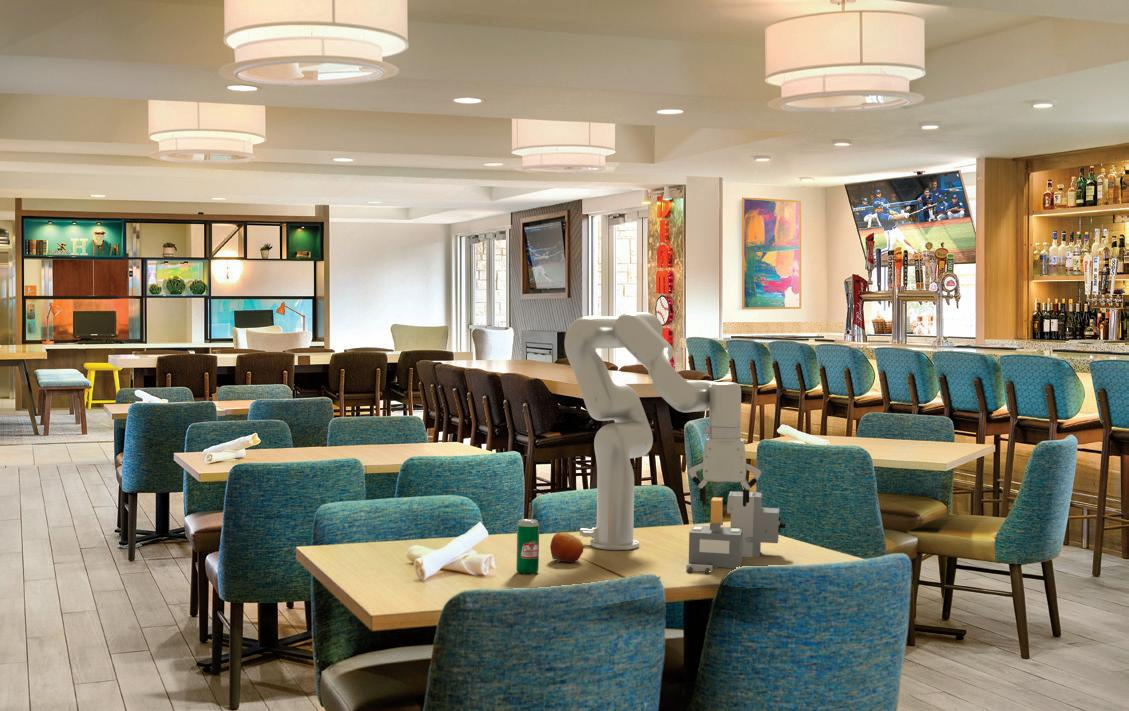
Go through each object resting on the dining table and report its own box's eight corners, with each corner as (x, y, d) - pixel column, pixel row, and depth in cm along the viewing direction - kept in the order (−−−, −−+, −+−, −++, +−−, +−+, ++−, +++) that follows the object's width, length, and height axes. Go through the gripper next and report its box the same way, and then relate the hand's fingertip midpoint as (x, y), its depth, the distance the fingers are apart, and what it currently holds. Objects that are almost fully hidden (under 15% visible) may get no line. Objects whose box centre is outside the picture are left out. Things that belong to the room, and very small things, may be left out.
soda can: (521, 575, 265) (521, 522, 264) (513, 571, 269) (513, 519, 269) (541, 574, 267) (542, 521, 266) (533, 569, 271) (534, 518, 271)
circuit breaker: (784, 558, 289) (785, 498, 288) (726, 555, 291) (727, 495, 291) (784, 553, 296) (786, 493, 296) (728, 549, 299) (729, 491, 298)
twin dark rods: (684, 572, 270) (685, 566, 270) (688, 565, 278) (688, 560, 278) (711, 574, 269) (711, 568, 269) (713, 567, 277) (714, 561, 277)
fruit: (537, 553, 283) (553, 524, 284) (563, 568, 285) (579, 539, 287) (550, 560, 275) (567, 530, 277) (576, 575, 278) (592, 545, 279)
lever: (710, 529, 279) (710, 500, 279) (712, 524, 285) (713, 497, 285) (720, 529, 278) (721, 501, 278) (722, 525, 284) (723, 497, 284)
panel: (688, 566, 278) (689, 522, 278) (692, 557, 288) (693, 515, 288) (739, 569, 276) (740, 525, 275) (742, 560, 286) (743, 518, 285)
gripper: (687, 434, 279) (686, 506, 279) (760, 436, 275) (760, 508, 275) (690, 431, 286) (689, 501, 286) (762, 433, 282) (761, 504, 283)
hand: (724, 505), depth 281 cm, fingers open, 9 cm apart
